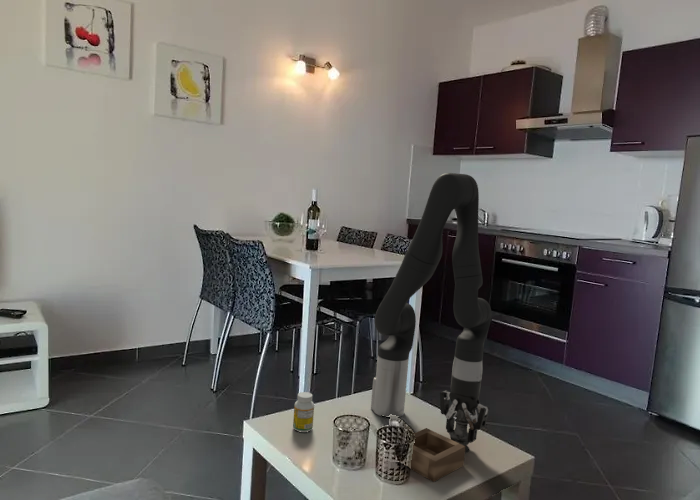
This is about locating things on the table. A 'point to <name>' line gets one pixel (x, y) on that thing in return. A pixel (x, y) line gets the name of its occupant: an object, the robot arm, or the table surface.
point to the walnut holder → (435, 455)
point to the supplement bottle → (303, 412)
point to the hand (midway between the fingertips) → (460, 436)
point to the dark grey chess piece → (460, 430)
